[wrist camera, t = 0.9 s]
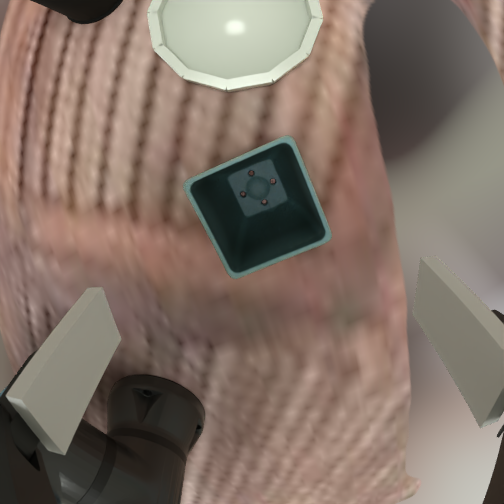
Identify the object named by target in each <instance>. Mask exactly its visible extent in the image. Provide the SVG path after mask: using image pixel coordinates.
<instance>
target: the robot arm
mask: <svg viewBox="0 0 504 504" xmlns="http://www.w3.org/2000/svg"><path fill="white" fill-rule="evenodd" d="M413 316H414V318H415V319H416V321H417V322H418V323H419V325H420V327H421V328H422V330H423V331H424V333H425V334H426V336H427V337H428V339H429V341H430V342H431V344H432V345H433V347H434V348H435V350H436V352H437V353H438V355H439V357H440V358H441V360H442V361H443V363H444V365H445V366H446V368H447V370H448V371H449V373H450V375H451V376H452V378H453V380H454V381H455V383H456V385H457V387H458V389H459V390H460V392H461V394H462V396H463V397H464V399H465V401H466V403H467V404H468V406H469V408H470V410H471V412H472V413H473V415H474V417H475V419H476V421H477V423H478V425H479V427H480V428H482V427H485V426H487V425H489V424H492V423H494V422H496V421H498V420H499V418H500V416H501V415H502V413H503V411H504V315H503V314H502V313H500V312H498V311H497V310H490V309H489V308H488V307H487V306H486V305H485V304H484V303H483V302H482V300H481V299H480V298H479V297H478V296H477V295H476V294H475V293H474V292H473V291H472V290H471V289H470V288H469V287H468V286H467V285H466V284H465V283H464V282H463V281H462V280H461V279H460V278H459V277H457V276H456V274H455V273H453V272H452V271H451V270H450V269H449V268H448V267H447V266H446V265H445V264H444V263H443V262H442V261H441V260H439V258H438V257H436V256H432V257H423V258H420V265H419V274H418V281H417V288H416V295H415V302H414V308H413ZM120 341H121V337H120V334H119V332H118V329H117V326H116V324H115V321H114V318H113V316H112V313H111V310H110V307H109V304H108V302H107V299H106V296H105V293H104V290H103V287H94V288H88V289H87V290H86V291H85V292H84V293H83V294H82V296H81V297H80V298H79V299H78V300H77V302H76V303H75V304H74V305H73V306H72V308H71V309H70V310H69V311H68V313H67V314H66V315H65V316H64V317H63V319H62V320H61V321H60V322H59V324H58V325H57V326H56V327H55V329H54V330H53V331H52V333H51V334H50V335H49V336H48V338H47V339H46V340H45V342H44V343H43V344H42V346H41V347H40V348H39V349H38V350H37V351H35V352H34V353H33V354H32V355H30V356H29V357H28V359H27V360H26V361H25V363H24V364H23V367H21V368H20V370H19V371H18V372H17V375H15V376H14V378H13V379H12V381H11V382H10V384H9V385H8V386H7V387H6V388H5V389H4V390H3V391H2V392H1V393H0V504H180V502H181V495H182V487H183V480H184V473H185V466H186V460H187V456H188V455H189V453H190V451H191V450H192V448H193V447H194V445H195V443H196V442H197V440H198V438H199V437H200V435H201V433H202V431H203V427H204V420H205V412H204V409H203V406H202V405H201V403H200V402H199V400H198V399H197V398H196V397H195V396H194V395H193V394H192V393H191V392H189V391H188V390H186V389H185V388H183V387H182V386H180V385H178V384H176V383H174V382H171V381H169V380H166V379H163V378H159V377H154V376H148V375H134V376H129V377H125V378H123V379H121V380H119V381H118V382H117V383H116V384H115V385H114V386H113V388H112V390H111V393H110V395H109V397H108V402H107V430H108V432H107V435H106V434H104V433H103V432H101V431H100V430H98V429H97V428H95V427H94V426H92V425H91V424H89V423H88V422H86V421H85V420H83V419H82V417H83V415H84V412H85V410H86V408H87V406H88V404H89V402H90V400H91V398H92V396H93V394H94V392H95V390H96V388H97V386H98V384H99V382H100V380H101V378H102V376H103V374H104V372H105V370H106V368H107V366H108V364H109V362H110V360H111V358H112V356H113V354H114V352H115V350H116V349H117V347H118V345H119V343H120ZM503 431H504V425H503V426H502V428H501V429H500V431H499V432H498V434H497V437H500V435H501V434H502V432H503ZM483 504H504V433H503V437H502V441H501V445H500V450H499V454H498V457H497V461H496V464H495V468H494V471H493V474H492V478H491V481H490V484H489V487H488V490H487V493H486V496H485V498H484V501H483Z"/></svg>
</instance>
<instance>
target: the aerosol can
mask: <svg viewBox="0 0 504 504" xmlns="http://www.w3.org/2000/svg"><path fill="white" fill-rule="evenodd" d="M31 1H33V2H36V3H38V4H41V5H43V6H45V7H48V8H50V9H52V10H54V11H57V12H59V13H61V14H63V15H65V16H67V17H68V18H69V19H70V20H71V21H73V22H75V23H79V24H88V23H92V22H96V21H98V20H100V19H102V18H104V17H106V16H107V15H109V14H110V13H111V12H112V11H114V10H115V9H116V8H117V7H118V6H119V4H120V3H121V2H122V0H31Z"/></svg>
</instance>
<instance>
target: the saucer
mask: <svg viewBox="0 0 504 504" xmlns="http://www.w3.org/2000/svg"><path fill="white" fill-rule="evenodd" d="M147 12H148V13H147V17H148V23H149V29H150V35H151V40H152V46H153V49H154V51H155V52H156V53H157V54H158V55H159V56H160V57H161V58H162V59H163V60H164V61H165V62H166V63H167V64H168V65H169V66H170V67H171V68H172V69H173V70H174V71H175V72H176V73H177V74H178V75H179V76H180V77H181V78H183V79H184V80H186V81H188V82H192V83H196V84H199V85H203V86H207V87H210V88H214V89H217V90H221V91H224V92H227V91H228V92H234V91H239V90H244V89H250V88H256V87H261V86H268V85H271V84H274V83H275V82H276V81H278V80H279V79H280V78H281V77H283V76H284V75H285V74H287V73H288V72H289V71H291V70H292V69H293V68H295V67H296V66H298V65H299V64H300V63H302V62H303V61H304V60H305V59H306V58H307V57H308V56H309V55H310V52H311V49H312V47H313V44H314V42H315V39H316V37H317V34H318V31H319V29H320V26H321V24H322V21H323V15H322V12H321V8H320V4H319V0H152V2H151V4H150V7H149V9H148V11H147Z"/></svg>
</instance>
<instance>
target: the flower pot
mask: <svg viewBox="0 0 504 504" xmlns="http://www.w3.org/2000/svg"><path fill="white" fill-rule="evenodd" d="M249 171H253V172H254V175H252V176H250V175H249ZM271 179H275V180H276V182H275V183H274V184H272V183H271V182H270V180H271ZM183 188H184V191H185V193H186V195H187V197H188V199H189V200H190V202H191V204H192V206H193V208H194V210H195V212H196V214H197V215H198V217H199V219H200V221H201V223H202V225H203V227H204V229H205V230H206V233H207V234H208V236H209V238H210V240H211V242H212V244H213V246H214V248H215V250H216V252H217V253H218V255H219V257H220V259H221V261H222V263H223V265H224V268H225V269H226V271H227V273H228V275H229V276H230V277H231V278H233V279H238V278H241V277H244V276H246V275H248V274H251V273H253V272H255V271H258V270H260V269H263V268H265V267H268V266H270V265H273V264H275V263H277V262H280V261H283V260H285V259H288V258H290V257H292V256H295V255H297V254H300V253H303V252H305V251H307V250H310V249H312V248H315V247H318V246H320V245H323V244H325V243H327V242H328V241H330V240H331V238H332V233H331V230H330V227H329V225H328V222H327V220H326V217H325V215H324V212H323V210H322V207H321V205H320V202H319V200H318V197H317V195H316V192H315V190H314V187H313V185H312V182H311V179H310V177H309V174H308V172H307V169H306V167H305V165H304V162H303V160H302V157H301V155H300V152H299V150H298V147H297V145H296V142H295V140H294V139H293V138H292V137H291V136H289V135H286V136H283V137H280V138H278V139H276V140H274V141H272V142H269V143H267V144H265V145H263V146H260V147H258V148H256V149H254V150H251V151H249V152H247V153H245V154H243V155H240V156H238V157H236V158H233V159H231V160H229V161H227V162H225V163H222V164H220V165H218V166H216V167H214V168H211V169H209V170H207V171H205V172H202V173H200V174H198V175H196V176H194V177H191V178H189V179H188V180H186V181H185V182H184V184H183ZM241 192H245V193H246V195H245V196H241ZM264 199H265V200H267V203H266V204H263V203H262V200H264Z"/></svg>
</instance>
